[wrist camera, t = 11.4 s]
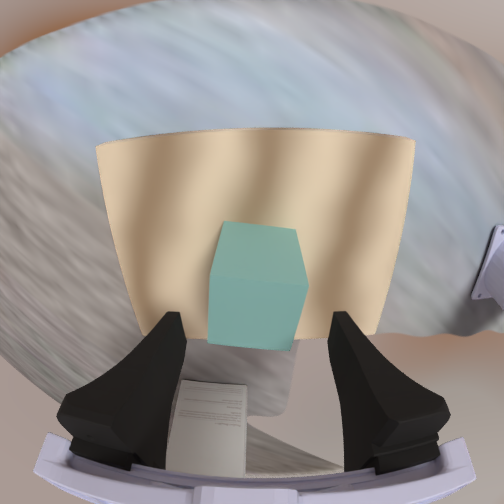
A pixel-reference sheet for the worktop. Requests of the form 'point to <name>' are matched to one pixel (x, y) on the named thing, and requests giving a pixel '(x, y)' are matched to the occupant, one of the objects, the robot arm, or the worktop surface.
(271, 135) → the birch board
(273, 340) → the teal block
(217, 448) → the supplement box
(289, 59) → the worktop surface
